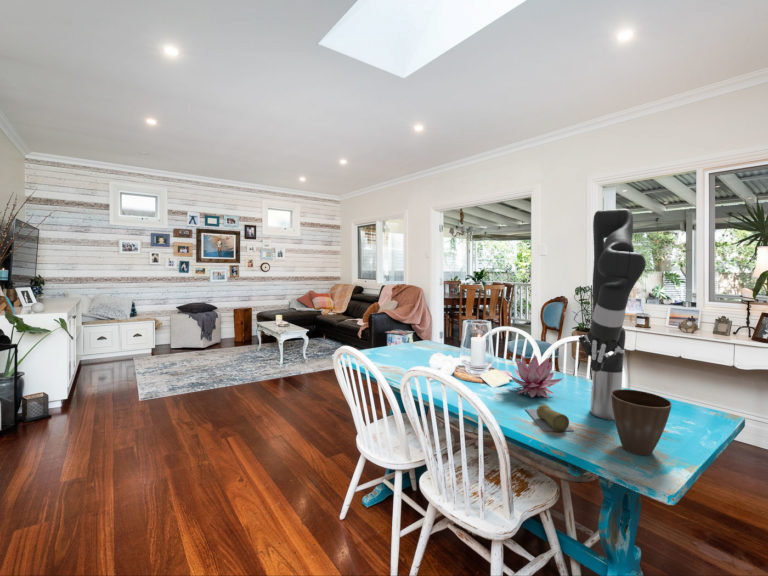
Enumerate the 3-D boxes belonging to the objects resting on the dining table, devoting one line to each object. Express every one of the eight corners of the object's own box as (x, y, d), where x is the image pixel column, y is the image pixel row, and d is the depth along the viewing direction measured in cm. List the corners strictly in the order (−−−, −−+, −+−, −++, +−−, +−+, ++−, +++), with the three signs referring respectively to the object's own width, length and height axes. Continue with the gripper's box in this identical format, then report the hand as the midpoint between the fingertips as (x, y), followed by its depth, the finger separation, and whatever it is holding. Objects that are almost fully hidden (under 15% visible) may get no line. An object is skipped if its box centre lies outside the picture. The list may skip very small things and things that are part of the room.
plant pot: (643, 437, 121) (646, 389, 120) (681, 462, 106) (685, 407, 105) (598, 437, 120) (600, 389, 119) (629, 462, 105) (633, 407, 104)
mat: (525, 409, 142) (525, 408, 142) (552, 410, 142) (552, 409, 142) (543, 430, 125) (543, 429, 125) (573, 431, 125) (573, 430, 125)
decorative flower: (497, 394, 159) (498, 359, 158) (518, 382, 175) (519, 350, 174) (550, 407, 145) (551, 369, 144) (567, 393, 161) (568, 359, 160)
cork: (571, 426, 125) (551, 413, 135) (565, 411, 124) (545, 399, 135) (556, 435, 124) (537, 421, 135) (549, 420, 123) (531, 407, 134)
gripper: (639, 324, 103) (624, 375, 110) (590, 307, 113) (580, 355, 120) (627, 333, 99) (613, 386, 106) (577, 315, 108) (567, 364, 116)
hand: (595, 370), depth 113 cm, fingers closed
